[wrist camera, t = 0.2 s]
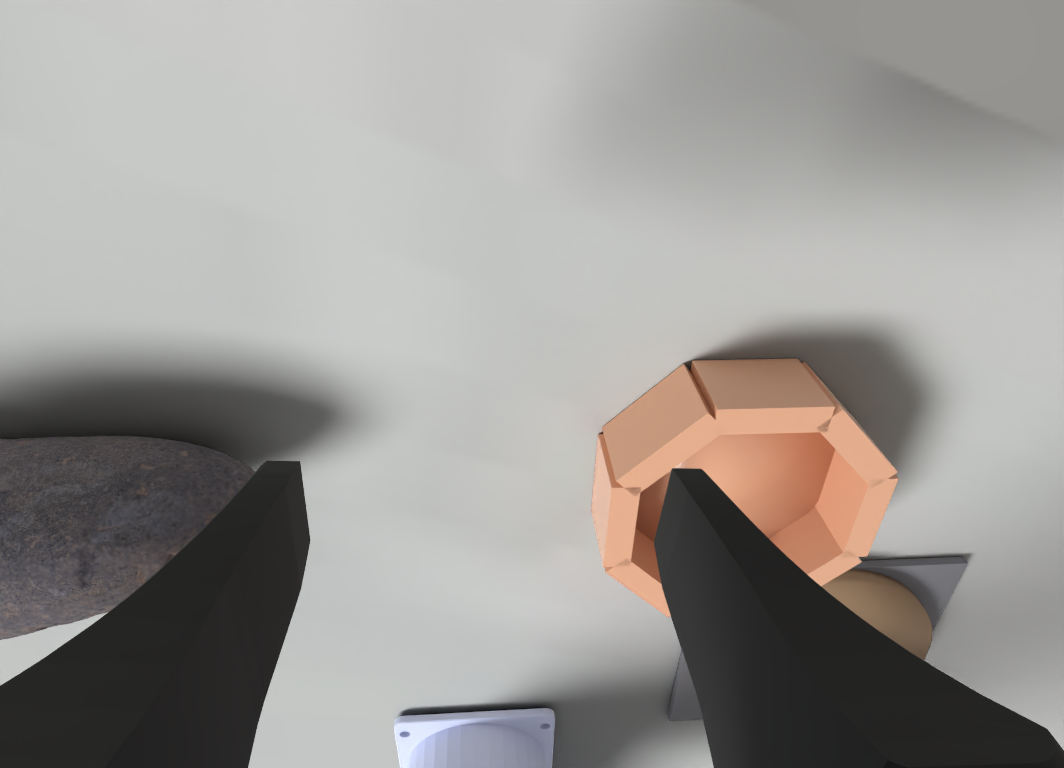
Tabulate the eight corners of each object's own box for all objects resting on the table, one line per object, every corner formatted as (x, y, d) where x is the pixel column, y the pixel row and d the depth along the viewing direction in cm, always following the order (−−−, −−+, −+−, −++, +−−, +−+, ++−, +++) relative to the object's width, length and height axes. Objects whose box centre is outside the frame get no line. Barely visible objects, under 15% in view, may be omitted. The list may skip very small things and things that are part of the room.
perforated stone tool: (267, 392, 23) (198, 539, 18) (299, 506, 26) (249, 665, 20) (-187, 420, 23) (-417, 582, 17) (-104, 533, 26) (-275, 706, 20)
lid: (882, 708, 36) (929, 795, 32) (678, 720, 35) (702, 810, 32) (956, 563, 30) (1024, 649, 26) (713, 573, 29) (748, 664, 26)
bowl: (813, 554, 30) (845, 611, 27) (586, 563, 29) (597, 622, 26) (881, 356, 24) (928, 404, 22) (604, 362, 24) (619, 412, 21)
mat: (888, 701, 36) (892, 708, 36) (667, 713, 35) (669, 721, 35) (962, 556, 30) (967, 563, 30) (699, 567, 30) (702, 574, 29)
